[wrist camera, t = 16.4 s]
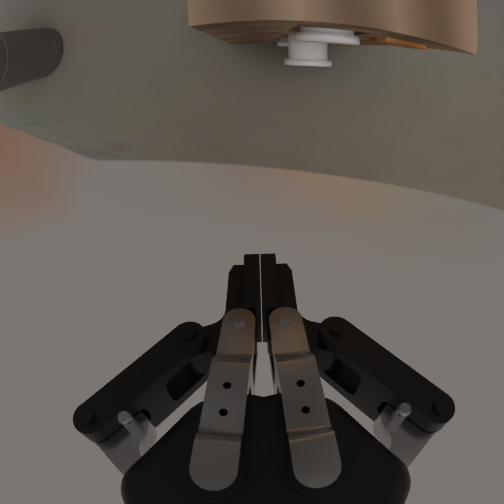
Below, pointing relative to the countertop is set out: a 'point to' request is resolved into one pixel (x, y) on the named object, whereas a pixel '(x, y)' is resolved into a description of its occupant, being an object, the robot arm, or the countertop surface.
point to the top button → (326, 36)
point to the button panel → (343, 21)
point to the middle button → (306, 53)
